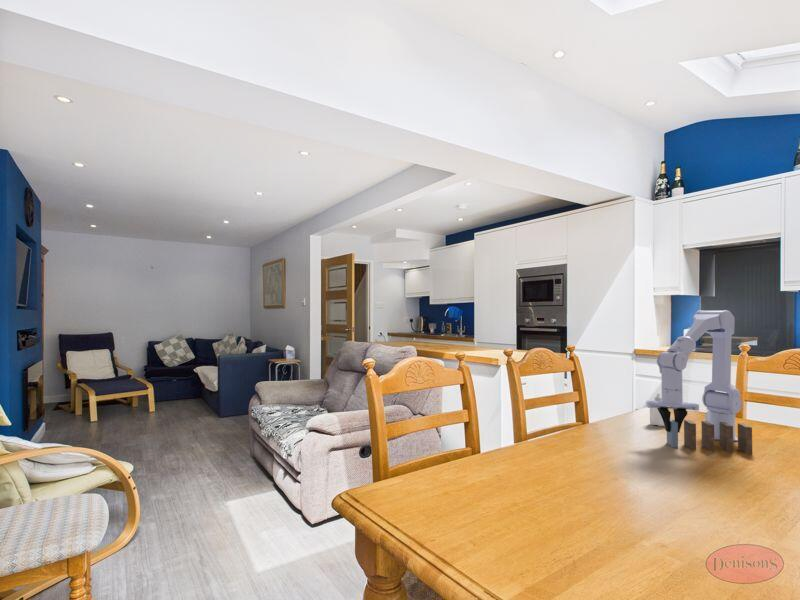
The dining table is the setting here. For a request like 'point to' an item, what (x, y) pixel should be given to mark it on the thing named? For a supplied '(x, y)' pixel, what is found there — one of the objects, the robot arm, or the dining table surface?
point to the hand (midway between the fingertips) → (672, 431)
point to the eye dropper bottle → (656, 414)
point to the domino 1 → (673, 434)
